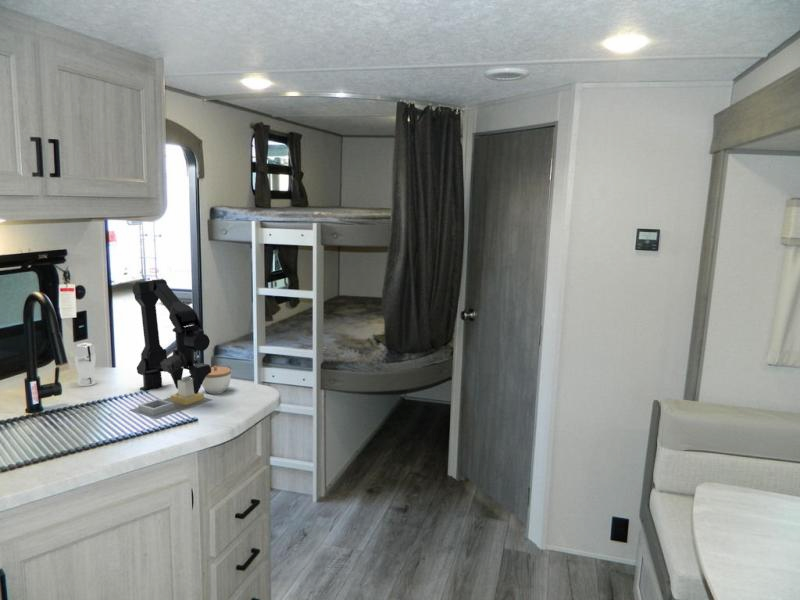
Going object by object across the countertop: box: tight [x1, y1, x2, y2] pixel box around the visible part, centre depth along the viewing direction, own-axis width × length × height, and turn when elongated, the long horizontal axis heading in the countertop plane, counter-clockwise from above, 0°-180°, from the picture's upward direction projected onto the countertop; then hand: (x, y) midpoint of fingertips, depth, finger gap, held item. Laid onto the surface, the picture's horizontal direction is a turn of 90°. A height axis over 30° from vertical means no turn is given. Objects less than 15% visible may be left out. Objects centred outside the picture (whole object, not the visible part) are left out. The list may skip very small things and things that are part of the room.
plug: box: [177, 375, 196, 398], centre depth 192 cm, size 4×4×8 cm
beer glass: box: [73, 342, 97, 387], centre depth 211 cm, size 7×7×15 cm
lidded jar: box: [201, 365, 232, 395], centre depth 205 cm, size 11×11×9 cm
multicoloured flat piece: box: [128, 391, 213, 420], centre depth 188 cm, size 14×22×3 cm, turn 149°
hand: (187, 390), depth 193 cm, fingers open, 9 cm apart
